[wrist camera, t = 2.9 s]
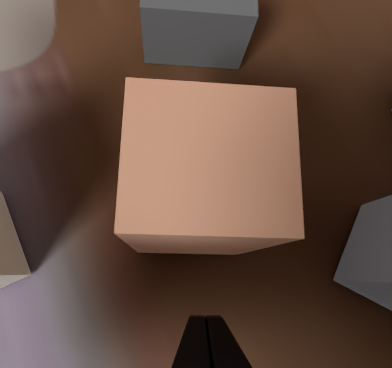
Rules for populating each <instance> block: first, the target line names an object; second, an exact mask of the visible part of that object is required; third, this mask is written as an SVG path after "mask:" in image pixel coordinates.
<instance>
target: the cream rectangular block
mask: <svg viewBox="0 0 392 368" xmlns="http://www.w3.org/2000/svg"><path fill="white" fill-rule="evenodd" d="M30 275H31V272H30V269H29V266H28V264H27V261H26V258H25V255H24V252H23V250H22V247H21V244H20V241H19V238H18V235H17V233H16V230H15V227H14V224H13V221H12V219H11V216H10V213H9V210H8V207H7V205H6V202H5V199H4V196H3V193H2V192H1V191H0V288H2V287H5V286H7V285H9V284H12V283H14V282H16V281H18V280H21V279H23V278H25V277H27V276H30Z"/></svg>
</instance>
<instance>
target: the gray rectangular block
mask: <svg viewBox="0 0 392 368" xmlns="http://www.w3.org/2000/svg"><path fill="white" fill-rule="evenodd" d="M333 281H335V282H337V283H339V284H341V285H343V286H345V287H347V288H349V289H351V290H353V291H355V292H356V293H358V294H360V295H362V296H364V297H366V298H368V299H370V300H372V301H374V302H376V303H378V304H379V305H381V306H383V307H385V308H387V309H389V310H391V311H392V195H390V196H387V197H384V198H381V199H378V200H375V201H372V202H369V203H366V204H363V205H361V207H360V210H359V212H358V215H357V218H356V220H355V223H354V225H353V228H352V231H351V233H350V236H349V239H348V241H347V244H346V246H345V249H344V252H343V254H342V257H341V260H340V262H339V265H338V267H337V270H336V273H335V275H334V278H333Z"/></svg>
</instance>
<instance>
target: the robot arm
mask: <svg viewBox="0 0 392 368" xmlns="http://www.w3.org/2000/svg"><path fill="white" fill-rule="evenodd" d="M171 368H252V366H251V365H250V363H249V361H248V360H247V358H246V356H245V355H244V353H243V351H242V350H241V348H240V346H239V344H238V343H237V341H236V339H235V338H234V336H233V334H232V333H231V331H230V329H229V328H228V326H227V324H226V323H225V321H224V319H223V318H222V317H221V316H219V315H207V316H206V317H205V316H203V315H191V316H190V317H189V319H188V321H187V324H186V327H185V330H184V333H183V336H182V339H181V342H180V344H179V347H178V350H177V353H176V356H175V359H174V362H173V364H172V367H171Z"/></svg>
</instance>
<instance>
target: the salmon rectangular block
mask: <svg viewBox="0 0 392 368" xmlns="http://www.w3.org/2000/svg"><path fill="white" fill-rule="evenodd" d="M114 234H115V235H117V236H118V237H119V238H120V239H122V240H123V241H124V242H125V243H127V244H128V245H129V246H131V247H132V248H133V249H134V250H136V251H137V252H138V253H179V254H222V255H238V254H242V253H247V252H251V251H255V250H259V249H263V248H268V247H272V246H276V245H280V244H284V243H289V242H293V241H297V240H301V239H305V237H304V220H303V202H302V185H301V168H300V150H299V133H298V115H297V98H296V88H285V87H269V86H254V85H238V84H223V83H207V82H192V81H176V80H161V79H145V78H130V77H126V82H125V95H124V108H123V121H122V134H121V148H120V161H119V174H118V187H117V201H116V214H115V227H114Z"/></svg>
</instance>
